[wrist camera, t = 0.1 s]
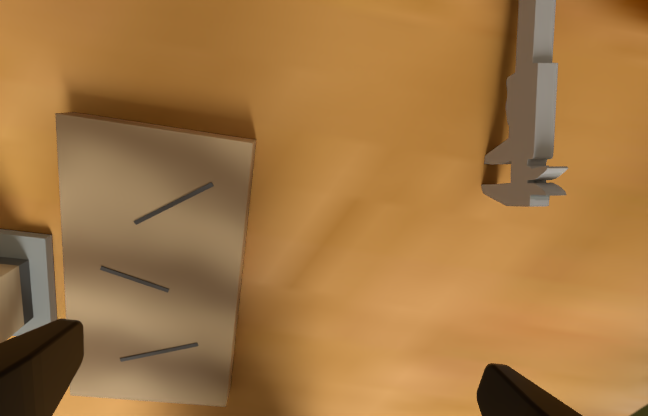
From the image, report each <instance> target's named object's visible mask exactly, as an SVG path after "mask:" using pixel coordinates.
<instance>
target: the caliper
mask: <svg viewBox="0 0 648 416" xmlns="http://www.w3.org/2000/svg"><path fill="white" fill-rule="evenodd" d="M555 6H556V0H519V10H518V30H517V50H516V70H515V73H514V74H512V75H511V76H509V77H508V78H507V82H506V85H507V101H506V115H507V122H508V125H509V138H508V139H507V140H506V141H504V142H503V143H501V144H500V145H499V146H497V147H496V148H495V149H493V150H492V151H491V152H489V153H488V154H487V155H485V161H484V164H511V183H505V184H483V185H482V191H483V193H484V194H485V195H487V196H489V197H490V198H492V199H494V200H496V201H498V202H500V203H502V204H504V205H506V206H549V196H550V195H566V193H565V191H564V190H563V189H562V188H561V187H559V186H558V185H556V184H554V183H546V180H552V179H555V178H557V177H559V176H560V175H561V174H562V173H564V172H565V171H566V170H567V169H568V167H549V166H546V162H547V159H551V158H552V157H553V150H554V131H555V111H556V92H557V72H558V63H552V56H553V39H554V22H555Z"/></svg>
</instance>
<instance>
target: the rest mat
mask: <svg viewBox="0 0 648 416" xmlns="http://www.w3.org/2000/svg"><path fill="white" fill-rule="evenodd" d="M0 257H8V258H17V259H26V260H29V268H30V280H31V292H32V304H33V316H34V317H33V318H32V319H31V320H30V321H29V322H27V323H26V324H25V325H24V326H23V327H21V328H20V329H19V330H18V331H17V332H15V333H14V334H13V335H12V336H19V335H21V334H23V333H26V332H28V331H31V330H33V329H36V328H38V327H40V326H43V325H45V324H48V323H50V322H53V321H55V320H57V311H56V294H55V278H54V262H53V245H52V235H48V234H39V233H31V232H22V231H14V230H5V229H0Z"/></svg>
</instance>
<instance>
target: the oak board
mask: <svg viewBox="0 0 648 416" xmlns="http://www.w3.org/2000/svg"><path fill="white" fill-rule="evenodd" d="M56 132H57V151H58V170H59V189H60V208H61V227H62V246H63V265H64V284H65V303H66V319H70V320H79V321H80V322H82V324H83V330H84V357H83V361H82V363H81V366H80V368H79V369H78V371H77V373H76V375H75V376H74V378H73V380H72V382H71V383H70V395H72V396H86V397H99V398H113V399H126V400H140V401H153V402H167V403H180V404H194V405H207V406H221V407H226V405H227V401H228V397H229V392H230V386H231V377H232V367H233V358H234V348H235V338H236V329H237V319H238V310H239V300H240V290H241V281H242V271H243V262H244V252H245V242H246V233H247V223H248V214H249V204H250V194H251V185H252V175H253V166H254V156H255V147H256V140H253V139H247V138H240V137H234V136H227V135H221V134H214V133H207V132H201V131H194V130H188V129H181V128H174V127H168V126H161V125H155V124H148V123H141V122H135V121H128V120H122V119H115V118H108V117H102V116H95V115H89V114H82V113H76V112H68V113H56Z"/></svg>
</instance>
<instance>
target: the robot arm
mask: <svg viewBox="0 0 648 416" xmlns="http://www.w3.org/2000/svg"><path fill="white" fill-rule="evenodd" d="M83 357H84V330H83V324H82V322H80V321H79V320H70V319H58V320H55V321H53V322H50V323H48V324H45V325H43V326H40V327H38V328H36V329H33V330H31V331H28V332H26V333H23V334H21V335H19V336H16V337H14V338H11V339H9V340H6V341H4V342H2V343H0V416H52V415H53V413H54V412H55V410H56V408H57V406H58V404H59V403H60V401H61V399H62V397H63V396H64V394H65V392H66V390H67V389H68V387H69V385H70V383H71V382H72V380H73V378H74V376H75V375H76V373H77V371H78V369H79V368H80V366H81V363H82V361H83ZM477 402H478V405H479V408H480V411H481V414H482V416H582V415H581V414H579V413H578V412H576V411H575V410H573V409H572V408H570V407H569V406H567V405H566V404H564V403H563V402H561V401H560V400H558V399H557V398H555V397H554V396H552V395H551V394H549V393H548V392H546V391H545V390H543V389H542V388H540V387H539V386H537V385H536V384H534V383H533V382H531V381H530V380H528V379H527V378H525V377H524V376H522V375H521V374H519V373H518V372H516V371H515V370H513V369H512V368H510V367H509V366H507V365H503V364H494V363H491V364H488V365H487V366H486V368H485V370H484V373H483V376H482V379H481V381H480V384H479V387H478V390H477Z"/></svg>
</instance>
